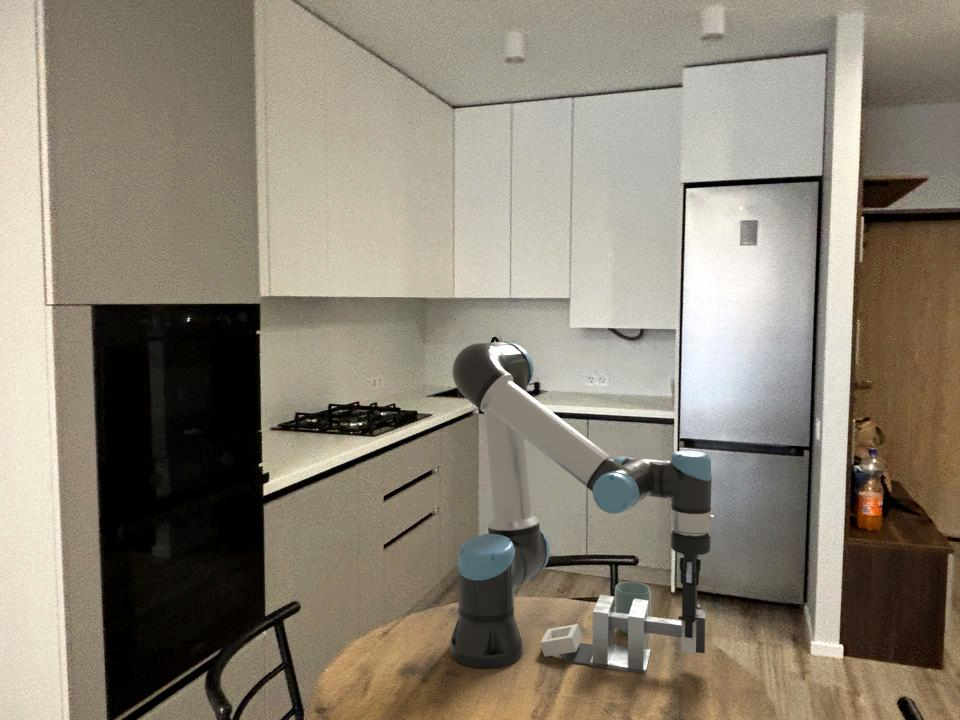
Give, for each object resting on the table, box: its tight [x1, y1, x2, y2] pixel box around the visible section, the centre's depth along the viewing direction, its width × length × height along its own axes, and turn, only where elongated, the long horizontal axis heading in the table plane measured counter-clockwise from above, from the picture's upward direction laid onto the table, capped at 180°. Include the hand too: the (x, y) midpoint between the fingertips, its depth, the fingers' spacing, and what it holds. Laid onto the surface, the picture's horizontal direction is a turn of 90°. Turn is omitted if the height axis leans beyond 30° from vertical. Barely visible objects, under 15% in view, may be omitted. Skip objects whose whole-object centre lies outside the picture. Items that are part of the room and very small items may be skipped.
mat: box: [560, 642, 593, 666], centre depth 152 cm, size 6×9×1 cm, turn 162°
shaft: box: [610, 609, 706, 654], centre depth 147 cm, size 21×4×7 cm, turn 72°
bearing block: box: [589, 594, 651, 675], centre depth 149 cm, size 11×9×11 cm
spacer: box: [540, 623, 583, 658], centre depth 153 cm, size 3×7×7 cm
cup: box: [614, 581, 652, 635], centre depth 163 cm, size 8×8×10 cm
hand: (689, 646), depth 145 cm, fingers closed on shaft, 4 cm apart
